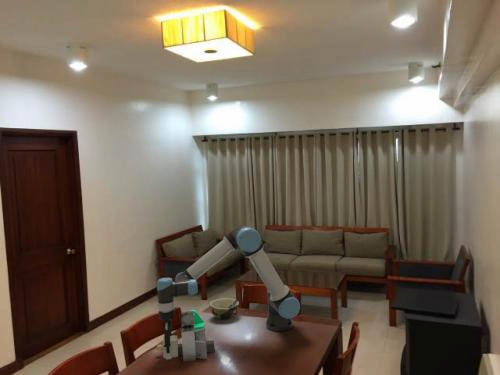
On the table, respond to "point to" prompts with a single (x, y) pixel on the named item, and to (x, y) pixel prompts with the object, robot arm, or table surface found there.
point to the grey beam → (178, 349)
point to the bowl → (224, 307)
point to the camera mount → (197, 321)
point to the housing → (192, 338)
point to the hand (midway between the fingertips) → (169, 354)
